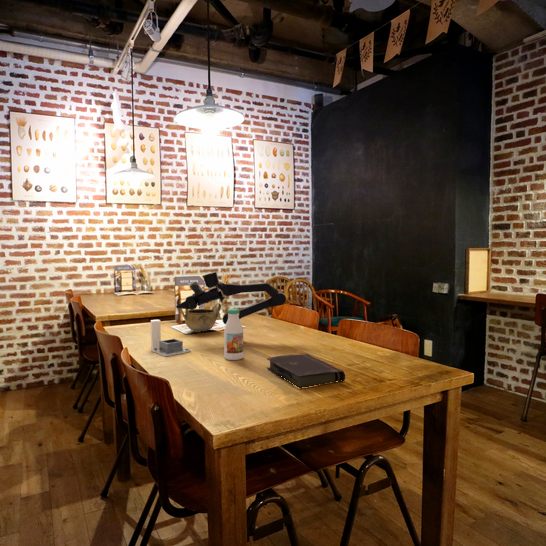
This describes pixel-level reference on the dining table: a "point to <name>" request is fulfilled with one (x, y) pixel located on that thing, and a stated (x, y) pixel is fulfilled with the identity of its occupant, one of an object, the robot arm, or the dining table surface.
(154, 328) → the rail post
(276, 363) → the diary
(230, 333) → the milk bottle
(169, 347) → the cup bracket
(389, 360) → the dining table surface
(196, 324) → the ceramic bowl
